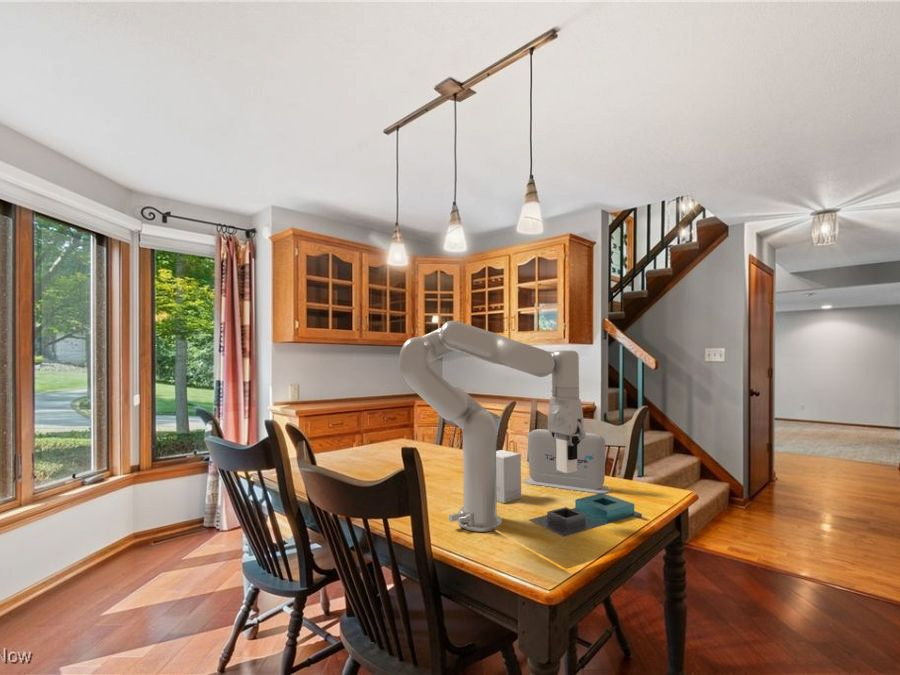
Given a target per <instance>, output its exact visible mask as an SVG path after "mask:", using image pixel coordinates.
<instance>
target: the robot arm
mask: <svg viewBox="0 0 900 675" xmlns="http://www.w3.org/2000/svg"><path fill="white" fill-rule="evenodd" d="M453 352H458V353H461V354H464V355H467V356H471V357H473V358H476V359H479V360H482V361H485V362H488V363H491V364H495V365H499V366H505V367H507V368H509V369H510V368H511V369H513V370H517V371H520V372H522V373H526V374H529V375H531V376H535V377H537V378H544V377H548V376H549V375H551V387H552V388H551V389H550V390H551V394H552V396H551V397H550V400H549V403H548V410H547V412H548V413H547V430H548V431H549V432H550V433H551V434H552V436H553V438H554V442H556V433H559V434H564V435H568V439H569V446H568V460H575V459H577V445H579V443H580V441H581V440H582V439H584V438H586V434H585V433H586V432H585V429H584V426H585V425H584V412H583V406H582V405H583V404H582V401H581V398H580V374H579V373H580V367H579V365H580V364H579V363H580V361H579V358H580V356H579V353H578V352H577V351H576V350H555V351H550V350H549V351H548V350H545V349H541V348H538V347H536V346H532V345H530V344H526V343H523V342H521V341H517V340H514V339H511V338H508V337H507V336H504V335H501V334H499V333H495V332H493V331H492V332H491V331H489V330H487V329H483V328H479V327H476V326H474V325H471V324H467V323H464V322H461V321H458V320H448V321H446V322H445V323H444V324H442V326H440V328H437V329H436V330H432V331H431V332H429V333H427V334H424V335H422V336H415V337H410V338H408V339H407V340H406V341H405V342H404V343H403V345H402V347H401V349H400V352H399V357H398V365H399V371H400V374H401V376H402V378H403V380H404V381H405V383H406V384H407V385H408V386H409V388H410V389H411V390H413V392H414V393H415V394H417V395H418V396H419V397H420V398H421V399H422V400H423V401H424V402H425V403H427V405H429V406H430V407H431V408H432V409H433V410H434V411H435V412H436V413H437V414H438V415H439V416H440V417H441V418H443V419H444V420H446V421H448V422H450V421H451V422H453V423H454V424H455V425H456V426H458V427H459V428H460V429H461V430H462V454H463V455H462V459H463V461H462V465H463V466H462V467H463V468H462V470H463V472H462V473H463V475H462V476H463V478H462V479H463V506H462V507H460V509H459V511H458V512H457V513H452V514H449V515H448V520H449V522H450V523H452V522H456V521H457V523H458V526H459V527H461V528H463V529H464V530H467V531H472V532H479V533H480V532H481V533H482V532H484V533H485V532H491V531H495V530H496V528H497V527H499V526H500V525H501V524H502V523H503V519H502V518H501V516H499V515H497V512H498V511H497V510H498V509H497V507H498V506H497V502H498V501H497V489H496V451H497V440H498V439H497V438H498V437H497V435H498V434H497V426H496V422H495V420H494V419H495V418H494V417H493V415H492V414H491V413H490V412H489V411H488V410H487V409H486V408H484V406H482V405H481V404H480V403H479V402H477V400H475V399H474V398H473V397H472V396H471V395H470V394H469V393H467V392H466V391H465V390H464V389H462V388H461V387H459V386H453V385H452V384H450V383H449V382H448V381H447V380H446V379H445V378H444V377H443V376H441V374H439V373H438V371H436V370H434V368H432V366H431V365H430V363H432V362H433V361H436V360H438V359H440V358H442V357H445V356H447V355H449V354H451V353H453ZM578 434H579V435H578ZM573 436H574V439H573Z"/></svg>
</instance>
